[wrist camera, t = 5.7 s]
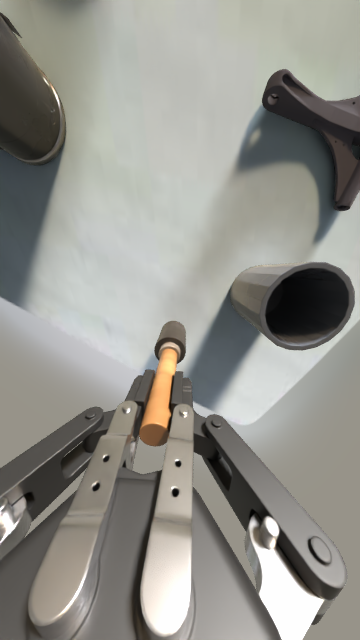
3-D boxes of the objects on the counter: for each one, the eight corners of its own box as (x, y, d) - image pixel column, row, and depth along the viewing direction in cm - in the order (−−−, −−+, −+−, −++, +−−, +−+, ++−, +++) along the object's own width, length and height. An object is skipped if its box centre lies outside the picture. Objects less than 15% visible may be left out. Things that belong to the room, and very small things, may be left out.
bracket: (292, 9, 17) (311, -40, 14) (421, 63, 18) (462, 26, 15) (235, 173, 21) (242, 160, 18) (340, 212, 22) (362, 204, 19)
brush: (161, 342, 25) (124, 455, 10) (161, 320, 24) (120, 408, 9) (185, 343, 25) (184, 459, 10) (186, 321, 24) (187, 412, 9)
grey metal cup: (227, 317, 26) (253, 348, 16) (233, 264, 24) (269, 260, 14) (277, 319, 26) (338, 352, 16) (289, 266, 24) (369, 263, 13)
